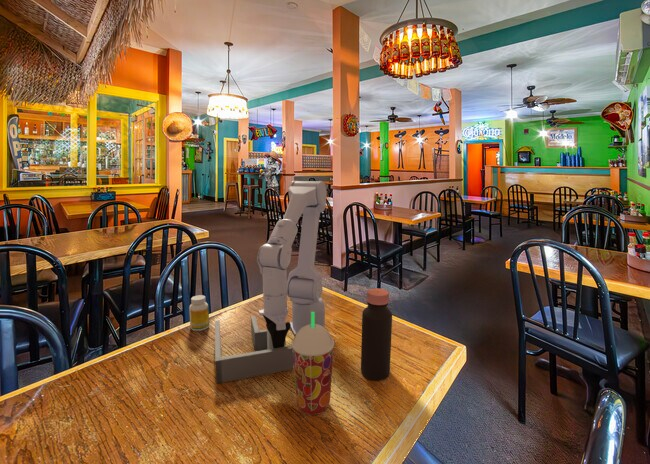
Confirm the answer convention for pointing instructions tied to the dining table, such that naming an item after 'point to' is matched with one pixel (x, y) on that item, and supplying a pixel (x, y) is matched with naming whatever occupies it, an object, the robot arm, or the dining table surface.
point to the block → (269, 341)
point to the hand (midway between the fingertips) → (276, 344)
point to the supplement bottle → (199, 313)
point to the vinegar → (376, 335)
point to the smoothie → (313, 367)
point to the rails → (251, 358)
